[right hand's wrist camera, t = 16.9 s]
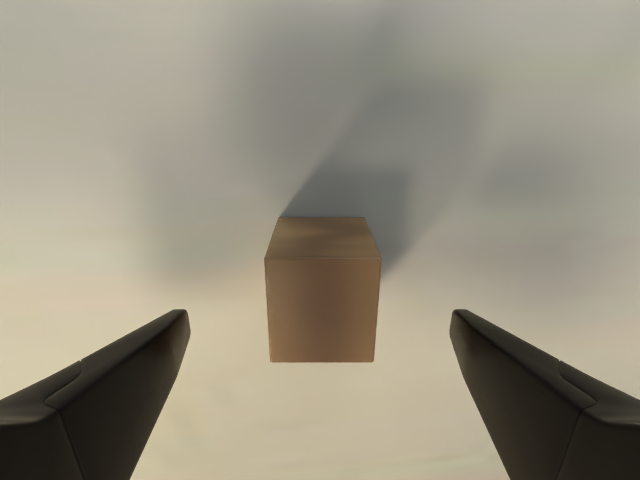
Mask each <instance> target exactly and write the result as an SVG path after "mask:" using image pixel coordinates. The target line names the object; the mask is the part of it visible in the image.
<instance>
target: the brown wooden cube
mask: <svg viewBox="0 0 640 480" xmlns="http://www.w3.org/2000/svg"><path fill="white" fill-rule="evenodd" d="M264 261H265V279H266V297H267V315H268V333H269V351H270V361H271V362H373V361H374V352H375V339H376V326H377V313H378V300H379V288H380V275H381V262H382V259H381V256H380V254H379V251H378V249H377V247H376V244H375V242H374V239H373V237H372V235H371V232H370V230H369V227H368V225H367V223H366V220H365V218H321V217H279V218H278V220H277V223H276V226H275V229H274V232H273V235H272V238H271V241H270V244H269V247H268V250H267V253H266V255H265V258H264Z"/></svg>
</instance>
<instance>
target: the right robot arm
mask: <svg viewBox="0 0 640 480" xmlns="http://www.w3.org/2000/svg"><path fill="white" fill-rule="evenodd" d="M189 338H190V324H189V318H188V313H187V311H186V310H184V309H175V310H172V311H170V312H168V313H166V314H164V315H163V316H161V317H159V318H157V319H155V320H153V321H151V322H150V323H148V324H146V325H144V326H142V327H140V328H139V329H137V330H135V331H133V332H131V333H129V334H127V335H126V336H124V337H122V338H120V339H118V340H116V341H115V342H113V343H111V344H109V345H107V346H105V347H104V348H102V349H100V350H98V351H96V352H94V353H92V354H91V355H89V356H87V357H85V358H83V359H82V360H81V361H78V362H76V363H74V364H72V365H70V366H68V367H66V368H65V369H63V370H61V371H59V372H57V373H55V374H53V375H51V376H49V377H47V378H45V379H43V380H41V381H39V382H37V383H35V384H33V385H31V386H29V387H27V388H25V389H22V390H20V391H18V392H16V393H14V394H12V395H10V396H8V397H6V398H4V399H1V400H0V480H130V478H131V476H132V473H133V471H134V469H135V467H136V465H137V462H138V460H139V458H140V456H141V454H142V452H143V449H144V447H145V445H146V443H147V441H148V439H149V436H150V434H151V432H152V430H153V428H154V425H155V423H156V421H157V419H158V417H159V415H160V412H161V410H162V408H163V406H164V404H165V402H166V399H167V397H168V395H169V393H170V391H171V388H172V386H173V384H174V382H175V380H176V377H177V375H178V372H179V369H180V366H181V363H182V360H183V357H184V354H185V350H186V347H187V344H188V341H189ZM450 338H451V341H452V344H453V347H454V350H455V354H456V357H457V360H458V363H459V366H460V369H461V372H462V375H463V377H464V380H465V382H466V384H467V386H468V388H469V391H470V393H471V395H472V397H473V399H474V402H475V404H476V406H477V408H478V410H479V412H480V415H481V417H482V419H483V421H484V423H485V425H486V428H487V430H488V432H489V434H490V436H491V439H492V441H493V443H494V445H495V447H496V449H497V452H498V454H499V456H500V458H501V460H502V462H503V465H504V467H505V469H506V471H507V473H508V476H509V478H510V480H640V400H639V399H636V398H634V397H632V396H630V395H628V394H626V393H624V392H622V391H620V390H618V389H615V388H613V387H611V386H609V385H607V384H605V383H603V382H601V381H599V380H597V379H595V378H593V377H591V376H589V375H587V374H585V373H583V372H581V371H579V370H577V369H575V368H574V367H572V366H570V365H568V364H566V363H564V362H562V361H559V360H558V359H557V358H555V357H553V356H551V355H549V354H548V353H546V352H544V351H542V350H540V349H538V348H537V347H535V346H533V345H531V344H529V343H527V342H525V341H524V340H522V339H520V338H518V337H516V336H514V335H512V334H511V333H509V332H507V331H505V330H503V329H501V328H500V327H498V326H496V325H494V324H492V323H490V322H489V321H487V320H485V319H483V318H481V317H479V316H477V315H476V314H474V313H472V312H470V311H468V310H465V309H456V310H454V311H453V313H452V318H451V324H450Z"/></svg>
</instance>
